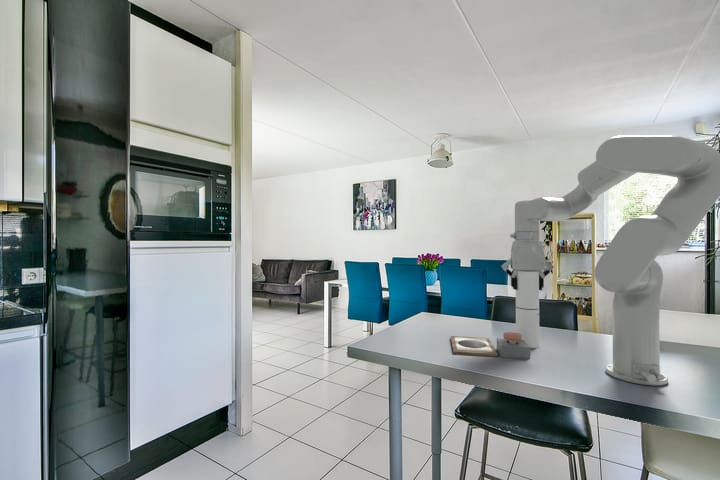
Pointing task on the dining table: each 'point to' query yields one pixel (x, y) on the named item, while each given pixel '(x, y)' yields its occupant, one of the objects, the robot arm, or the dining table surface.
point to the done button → (512, 337)
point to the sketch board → (473, 346)
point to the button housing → (513, 349)
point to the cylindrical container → (528, 307)
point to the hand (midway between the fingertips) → (527, 289)
